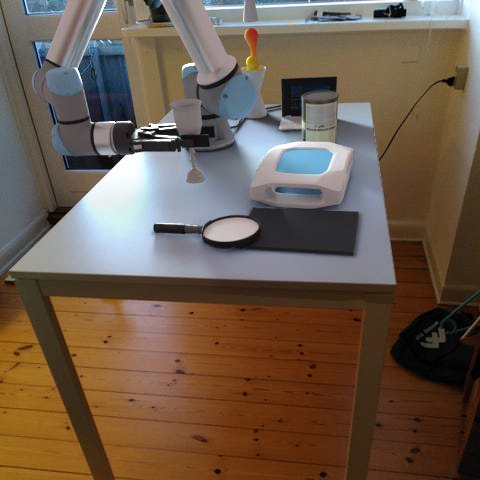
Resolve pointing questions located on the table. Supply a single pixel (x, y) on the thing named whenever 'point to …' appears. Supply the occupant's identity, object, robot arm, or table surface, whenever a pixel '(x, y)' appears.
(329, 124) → the coffee can
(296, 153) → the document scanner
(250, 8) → the lava lamp
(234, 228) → the magnifying glass
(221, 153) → the table surface
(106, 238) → the table surface
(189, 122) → the chalice
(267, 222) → the mat
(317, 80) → the laptop
